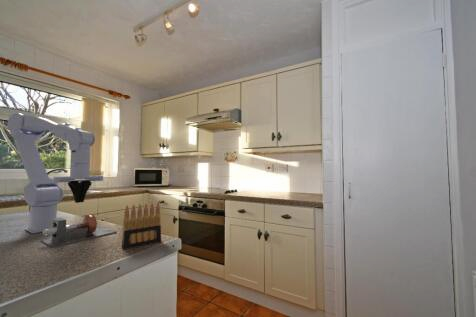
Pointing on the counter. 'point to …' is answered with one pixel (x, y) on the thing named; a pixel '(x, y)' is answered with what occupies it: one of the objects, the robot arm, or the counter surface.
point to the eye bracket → (72, 234)
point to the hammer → (77, 226)
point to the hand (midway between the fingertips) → (79, 202)
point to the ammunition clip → (136, 230)
